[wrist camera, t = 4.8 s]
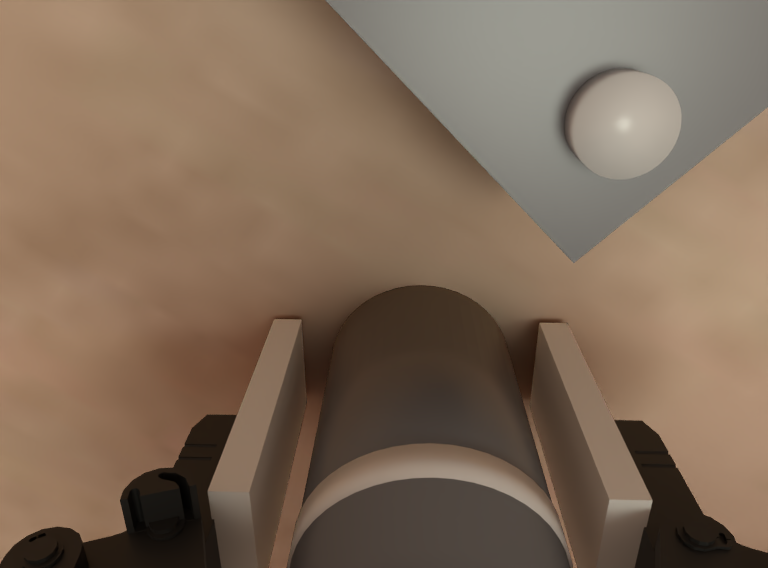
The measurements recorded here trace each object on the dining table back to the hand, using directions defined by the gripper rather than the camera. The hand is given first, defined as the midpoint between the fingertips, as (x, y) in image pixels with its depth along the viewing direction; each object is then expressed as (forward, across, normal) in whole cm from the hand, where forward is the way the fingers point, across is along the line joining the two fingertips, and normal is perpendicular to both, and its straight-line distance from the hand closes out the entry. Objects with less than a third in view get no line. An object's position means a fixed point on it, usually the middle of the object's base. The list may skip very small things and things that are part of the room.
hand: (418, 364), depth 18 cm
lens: (0, 0, 0) cm, 0 cm away
